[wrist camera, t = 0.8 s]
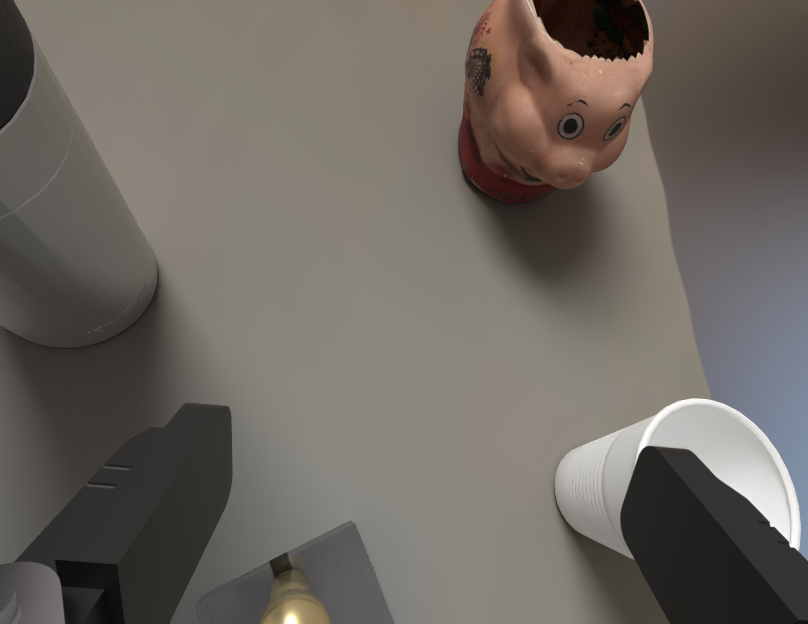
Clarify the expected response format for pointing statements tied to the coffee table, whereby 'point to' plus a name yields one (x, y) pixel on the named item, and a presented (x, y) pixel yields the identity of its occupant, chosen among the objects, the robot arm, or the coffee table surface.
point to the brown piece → (293, 602)
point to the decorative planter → (551, 92)
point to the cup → (687, 429)
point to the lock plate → (327, 578)
